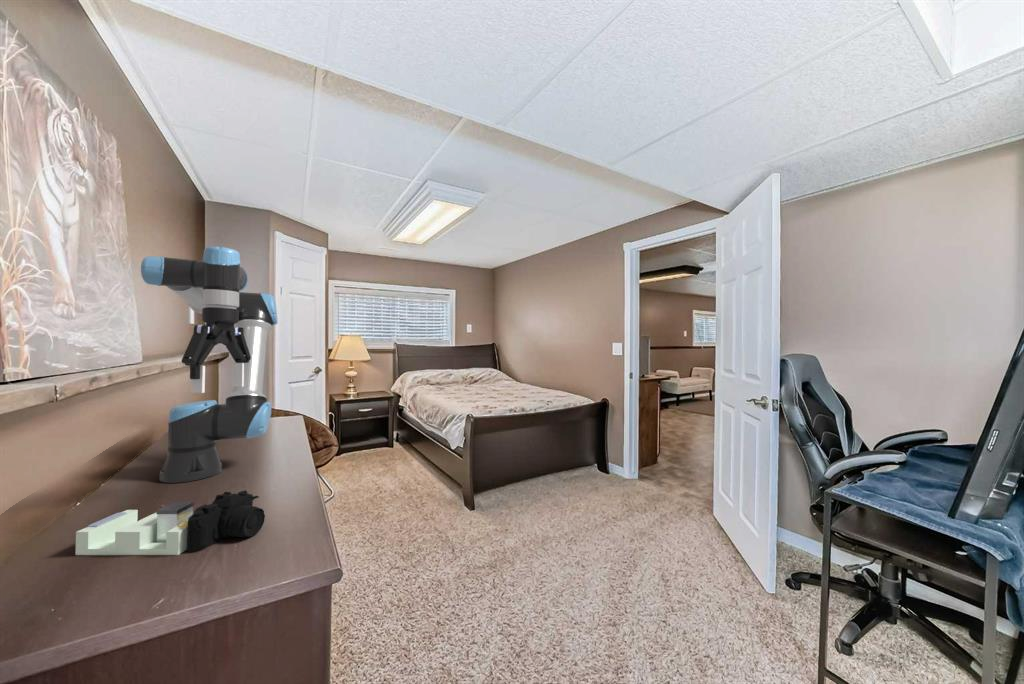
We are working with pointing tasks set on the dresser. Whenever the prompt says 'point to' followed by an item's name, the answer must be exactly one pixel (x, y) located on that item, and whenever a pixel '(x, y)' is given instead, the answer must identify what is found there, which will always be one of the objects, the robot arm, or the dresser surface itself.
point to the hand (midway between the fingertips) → (219, 389)
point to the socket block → (129, 536)
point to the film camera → (224, 520)
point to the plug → (172, 517)
